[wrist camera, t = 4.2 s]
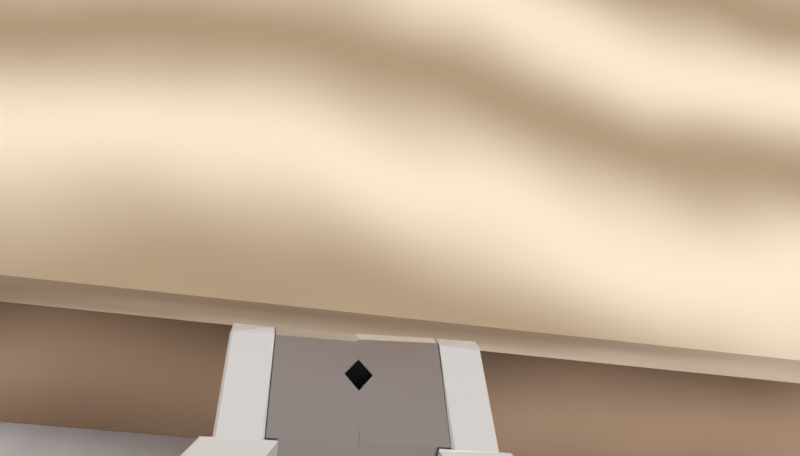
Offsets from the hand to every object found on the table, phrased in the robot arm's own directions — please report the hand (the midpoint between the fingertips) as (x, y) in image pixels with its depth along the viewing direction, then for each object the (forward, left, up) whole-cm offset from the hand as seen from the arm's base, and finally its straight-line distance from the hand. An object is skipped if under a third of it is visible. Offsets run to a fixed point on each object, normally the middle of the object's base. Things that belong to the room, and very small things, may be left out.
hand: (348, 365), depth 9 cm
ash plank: (+6, -1, -9) cm, 10 cm away
